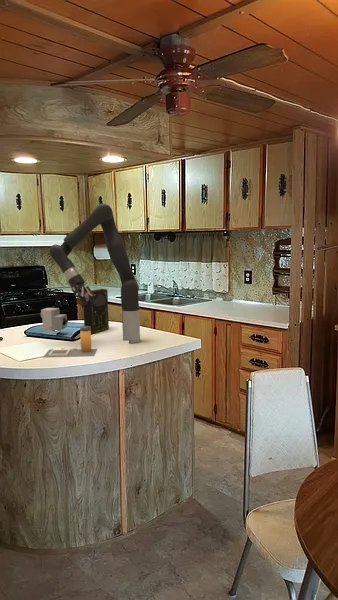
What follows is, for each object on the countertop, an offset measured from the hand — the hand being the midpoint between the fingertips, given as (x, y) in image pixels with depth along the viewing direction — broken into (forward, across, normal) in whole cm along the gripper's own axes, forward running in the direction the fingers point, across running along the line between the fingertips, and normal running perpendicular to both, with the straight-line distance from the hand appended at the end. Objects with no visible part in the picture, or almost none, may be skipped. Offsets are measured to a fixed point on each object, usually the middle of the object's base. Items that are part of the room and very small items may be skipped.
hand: (90, 303), depth 235 cm
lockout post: (+20, -10, +10) cm, 25 cm away
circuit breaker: (-5, +24, +41) cm, 47 cm away
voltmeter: (+5, +38, +24) cm, 45 cm away
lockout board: (+19, -15, +16) cm, 29 cm away
